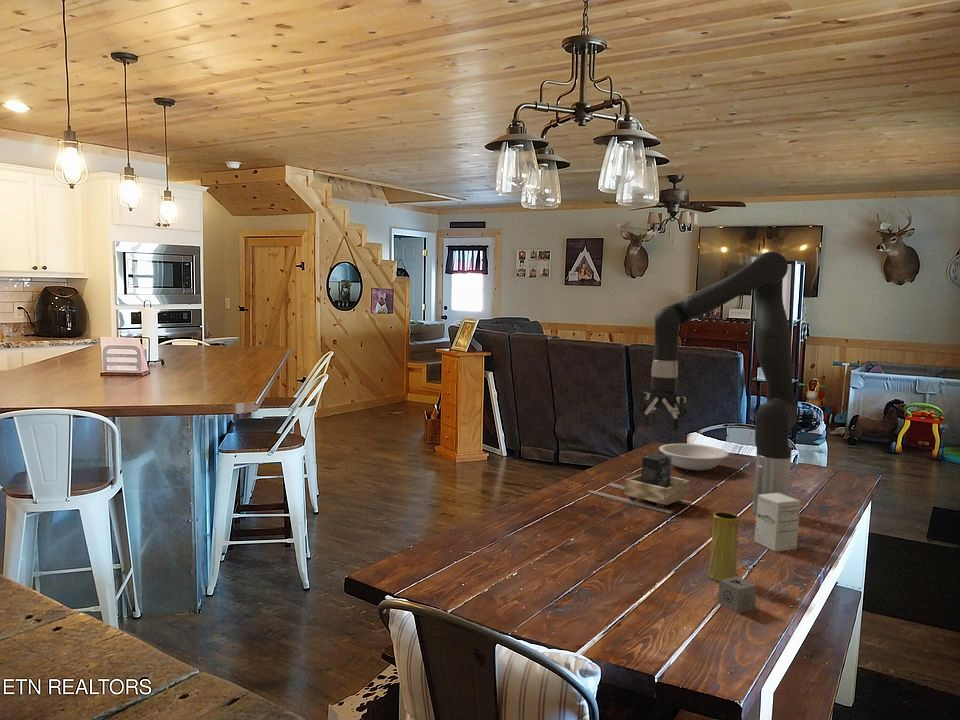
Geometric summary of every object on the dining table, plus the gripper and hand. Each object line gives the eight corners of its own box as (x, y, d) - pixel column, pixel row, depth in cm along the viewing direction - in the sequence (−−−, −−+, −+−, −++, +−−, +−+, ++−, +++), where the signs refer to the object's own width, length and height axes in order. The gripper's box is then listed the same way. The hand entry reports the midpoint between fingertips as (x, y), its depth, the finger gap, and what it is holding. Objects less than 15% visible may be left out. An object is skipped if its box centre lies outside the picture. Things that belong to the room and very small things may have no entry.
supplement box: (753, 542, 185) (756, 494, 184) (776, 539, 188) (779, 491, 186) (774, 552, 178) (778, 502, 177) (797, 549, 181) (801, 500, 179)
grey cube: (735, 599, 150) (737, 576, 150) (754, 609, 146) (756, 585, 145) (718, 603, 148) (719, 580, 147) (737, 613, 143) (738, 589, 143)
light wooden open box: (688, 500, 217) (690, 480, 217) (666, 510, 207) (667, 489, 206) (646, 490, 227) (648, 471, 226) (623, 499, 216) (624, 479, 216)
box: (656, 495, 212) (658, 459, 211) (639, 490, 216) (641, 456, 215) (670, 490, 218) (672, 455, 217) (653, 486, 222) (655, 452, 221)
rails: (691, 504, 217) (692, 501, 216) (670, 513, 206) (670, 511, 206) (611, 485, 235) (611, 483, 235) (587, 493, 225) (587, 491, 225)
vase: (713, 570, 165) (717, 509, 164) (740, 577, 162) (744, 515, 160) (703, 577, 161) (707, 515, 159) (730, 585, 157) (734, 521, 155)
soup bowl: (734, 467, 265) (735, 449, 264) (717, 481, 245) (718, 461, 244) (669, 457, 278) (670, 440, 277) (648, 469, 257) (650, 451, 257)
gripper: (692, 376, 213) (689, 430, 214) (648, 372, 222) (646, 424, 224) (681, 378, 207) (678, 434, 209) (636, 373, 216) (634, 427, 218)
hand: (661, 429), depth 216 cm, fingers open, 8 cm apart
